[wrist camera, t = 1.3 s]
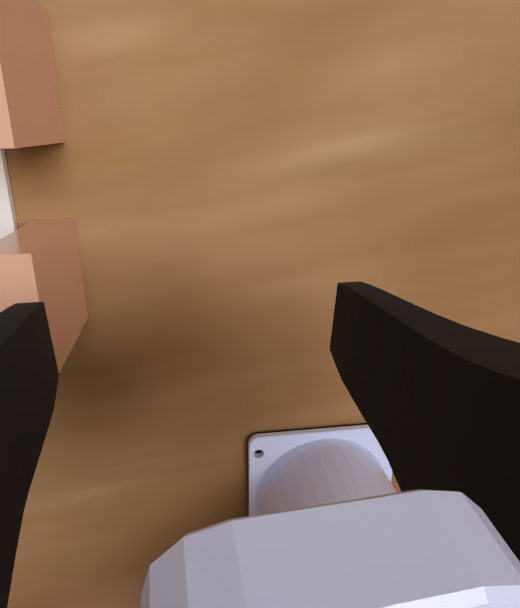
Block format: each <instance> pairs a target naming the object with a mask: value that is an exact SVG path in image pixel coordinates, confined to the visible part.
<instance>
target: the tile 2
mask: <svg viewBox="0 0 520 608" xmlns="http://www.w3.org/2000/svg"><path fill="white" fill-rule="evenodd" d="M29 302H44V305H45V310H46V315H47V319H48V324H49V329H50V334H51V339H52V343H53V348H54V353H55V358H56V363H57V367H58V372H59V373H60V371H61V369H62V367H63V365H64V363H65V361H66V360H67V358H68V356H69V354H70V352H71V350H72V348H73V346H74V344H75V342H76V340H77V339H78V337H79V335H80V333H81V331H82V329H83V327H84V325H85V323H86V321H87V320H88V312H87V304H86V297H85V289H84V282H83V274H82V266H81V259H80V251H79V244H78V236H77V228H76V221H75V218H60V219H34V220H32V221H31V222H29V223H27V224H26V225H24V226H22V227H21V228H19V229H17V230H15V231H14V232H12V233H10V234H9V235H7V236H5V237H4V238H2V239H0V312H2V311H3V310H5V309H6V308H8V307H10V306H11V305H13V304H15V303H29Z"/></svg>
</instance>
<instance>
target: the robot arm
mask: <svg viewBox="0 0 520 608" xmlns="http://www.w3.org/2000/svg"><path fill="white" fill-rule="evenodd" d="M330 351H331V353H332V356H333V359H334V361H335V364H336V367H337V369H338V372H339V374H340V376H341V379H342V381H343V382H344V384H345V386H346V388H347V390H348V391H349V393H350V395H351V397H352V398H353V400H354V402H355V404H356V405H357V407H358V409H359V410H360V412H361V414H362V415H363V417H364V419H365V421H366V422H367V424H368V425H356V426H344V427H332V428H320V429H308V430H296V431H285V432H273V433H261V434H255V435H253V436H251V438H250V439H249V442H248V479H249V516H246V517H239V518H233V519H228V520H225V521H223V522H220V523H217V524H214V525H211V526H208V527H205V528H202V529H199V530H196V531H193V532H190V533H187V534H186V535H185V536H184V537H183V538H182V539H180V540H179V541H178V542H177V543H176V544H174V545H173V546H172V547H171V548H170V549H168V550H167V551H166V552H165V553H164V554H162V555H161V556H160V557H159V558H158V559H157V560H155V561H154V562H153V563H152V564H151V565H150V566H149V569H148V572H147V576H146V579H145V583H144V586H143V589H142V593H141V603H140V608H520V343H518V342H514V341H511V340H507V339H504V338H500V337H497V336H494V335H491V334H488V333H485V332H482V331H478V330H475V329H472V328H470V327H467V326H464V325H461V324H459V323H456V322H454V321H451V320H449V319H446V318H444V317H441V316H439V315H436V314H434V313H432V312H430V311H427V310H425V309H423V308H421V307H418V306H416V305H414V304H412V303H410V302H407V301H405V300H403V299H401V298H399V297H397V296H394V295H392V294H390V293H388V292H386V291H383V290H381V289H379V288H377V287H374V286H372V285H369V284H366V283H363V282H346V283H338V286H337V294H336V302H335V310H334V318H333V327H332V335H331V343H330ZM58 376H59V372H58V367H57V363H56V358H55V353H54V348H53V343H52V339H51V334H50V329H49V324H48V319H47V315H46V310H45V305H44V302H29V303H15V304H13V305H11V306H10V307H8V308H6V309H5V310H3V311H2V312H0V608H7V604H8V598H9V592H10V586H11V579H12V573H13V567H14V561H15V555H16V550H17V544H18V539H19V533H20V528H21V523H22V517H23V512H24V508H25V504H26V500H27V496H28V492H29V489H30V485H31V482H32V479H33V476H34V472H35V469H36V466H37V463H38V459H39V456H40V453H41V450H42V446H43V443H44V440H45V437H46V433H47V430H48V427H49V423H50V420H51V417H52V413H53V410H54V404H55V397H56V391H57V383H58ZM256 450H262V451H261V452H260V453H254V452H255V451H256ZM392 471H393V473H394V476H395V478H396V480H397V482H398V485H399V487H400V489H401V491H402V492H398V493H396V491H395V489H394V488H393V486H392V484H391V478H392Z"/></svg>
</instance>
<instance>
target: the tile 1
mask: <svg viewBox="0 0 520 608" xmlns="http://www.w3.org/2000/svg"><path fill="white" fill-rule="evenodd" d="M64 142H65V137H64V130H63V122H62V115H61V107H60V99H59V92H58V84H57V77H56V69H55V61H54V54H53V46H52V39H51V31H50V23H49V16H48V11H47V10H46V9H45V8H43V7H42V6H41V5H40V4H39V3H37V2H36V1H35V0H0V148H22V147H31V146H39V145H47V144H56V143H64Z"/></svg>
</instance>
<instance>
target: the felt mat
mask: <svg viewBox="0 0 520 608" xmlns="http://www.w3.org/2000/svg"><path fill="white" fill-rule="evenodd" d="M17 229H18V226H17V220H16V214H15V208H14V203H13V197H12V191H11V186H10V180H9V174H8V168H7V163H6V157H5V151H4V148H0V239H2V238H4V237H5V236H7V235H9V234H10V233H12V232H14V231H15V230H17Z"/></svg>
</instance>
